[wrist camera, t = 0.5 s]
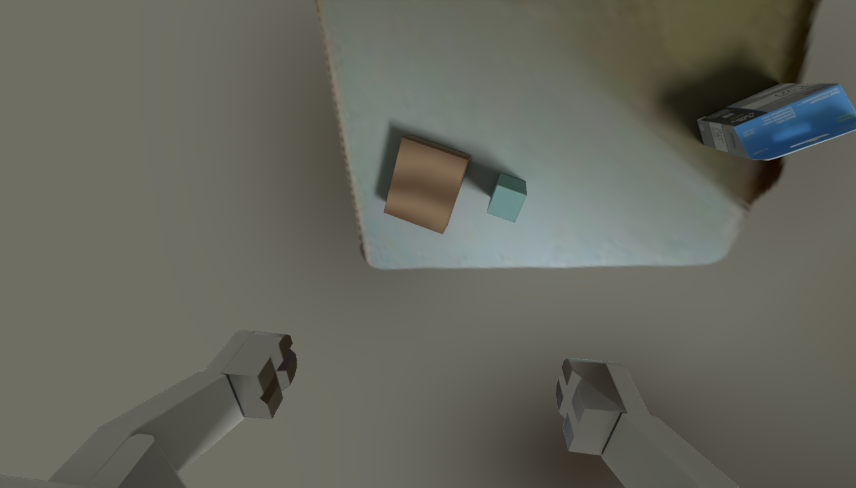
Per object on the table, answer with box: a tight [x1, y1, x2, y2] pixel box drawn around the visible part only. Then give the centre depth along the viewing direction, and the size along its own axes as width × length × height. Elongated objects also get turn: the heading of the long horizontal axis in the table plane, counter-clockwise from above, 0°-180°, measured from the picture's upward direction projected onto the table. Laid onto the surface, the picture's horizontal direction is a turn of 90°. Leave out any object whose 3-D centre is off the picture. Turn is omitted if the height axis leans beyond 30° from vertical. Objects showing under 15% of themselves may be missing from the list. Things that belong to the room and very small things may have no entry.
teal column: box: [487, 173, 527, 223], centre depth 49 cm, size 4×4×8 cm
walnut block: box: [384, 135, 471, 234], centre depth 53 cm, size 12×10×4 cm
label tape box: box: [697, 83, 856, 160], centre depth 37 cm, size 9×4×12 cm, turn 118°
